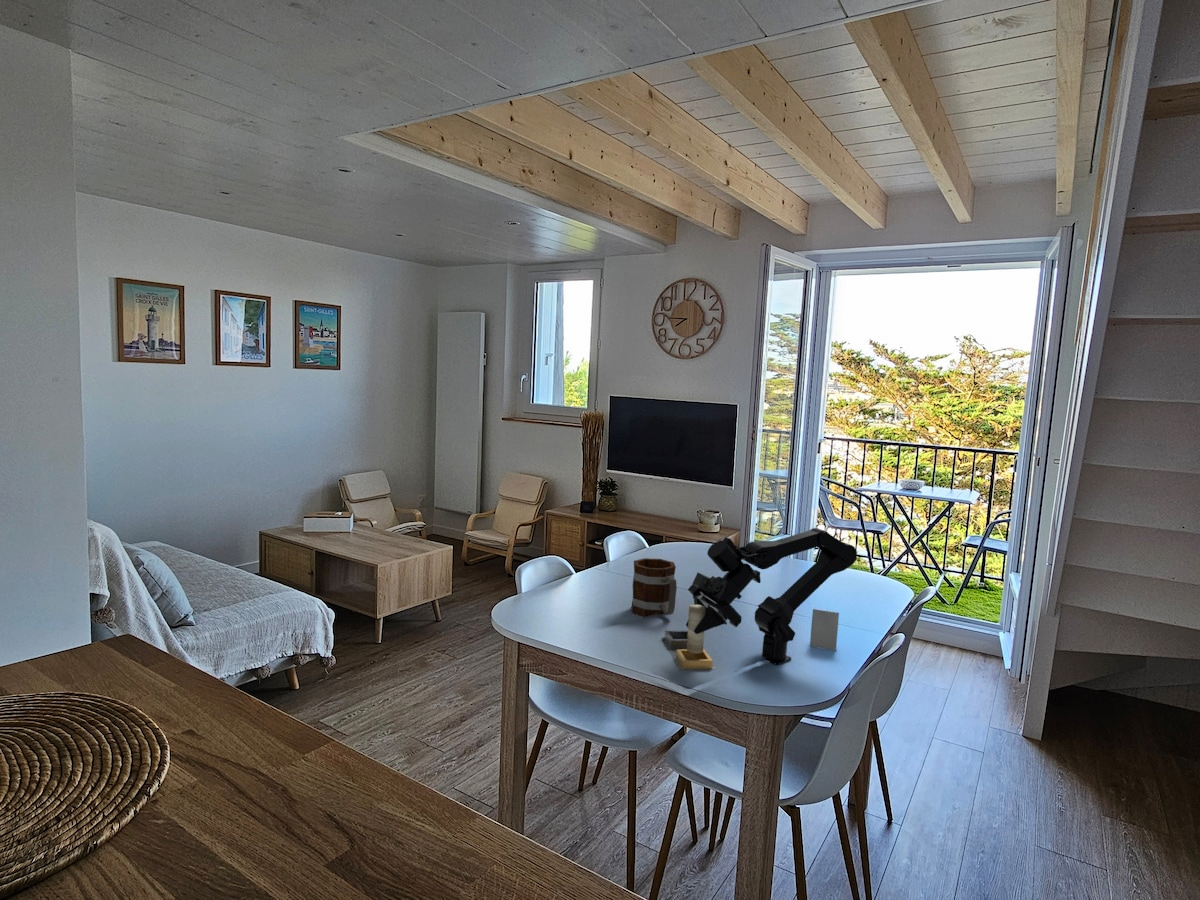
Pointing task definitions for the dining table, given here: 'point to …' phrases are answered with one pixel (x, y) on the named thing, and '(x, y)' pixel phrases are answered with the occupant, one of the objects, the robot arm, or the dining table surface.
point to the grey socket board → (685, 652)
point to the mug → (653, 587)
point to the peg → (694, 619)
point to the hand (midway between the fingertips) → (691, 629)
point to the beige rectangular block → (824, 629)
